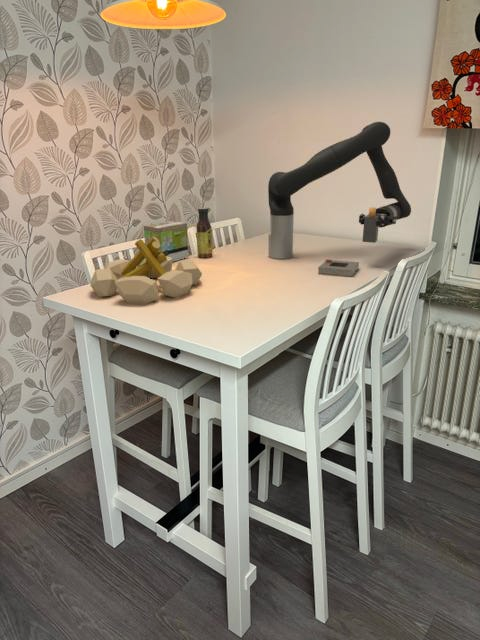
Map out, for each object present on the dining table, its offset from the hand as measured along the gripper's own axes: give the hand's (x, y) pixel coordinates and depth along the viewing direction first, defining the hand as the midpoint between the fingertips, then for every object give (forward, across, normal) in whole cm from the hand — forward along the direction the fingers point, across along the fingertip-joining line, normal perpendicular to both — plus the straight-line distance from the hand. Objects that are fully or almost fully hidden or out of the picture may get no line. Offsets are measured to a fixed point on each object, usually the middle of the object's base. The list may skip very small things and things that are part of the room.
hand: (369, 222), depth 176 cm
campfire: (+60, -53, +18) cm, 82 cm away
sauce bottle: (+15, -64, +18) cm, 68 cm away
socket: (+10, -7, +17) cm, 21 cm away
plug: (-3, 0, +7) cm, 8 cm away
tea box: (+26, -74, +18) cm, 80 cm away
